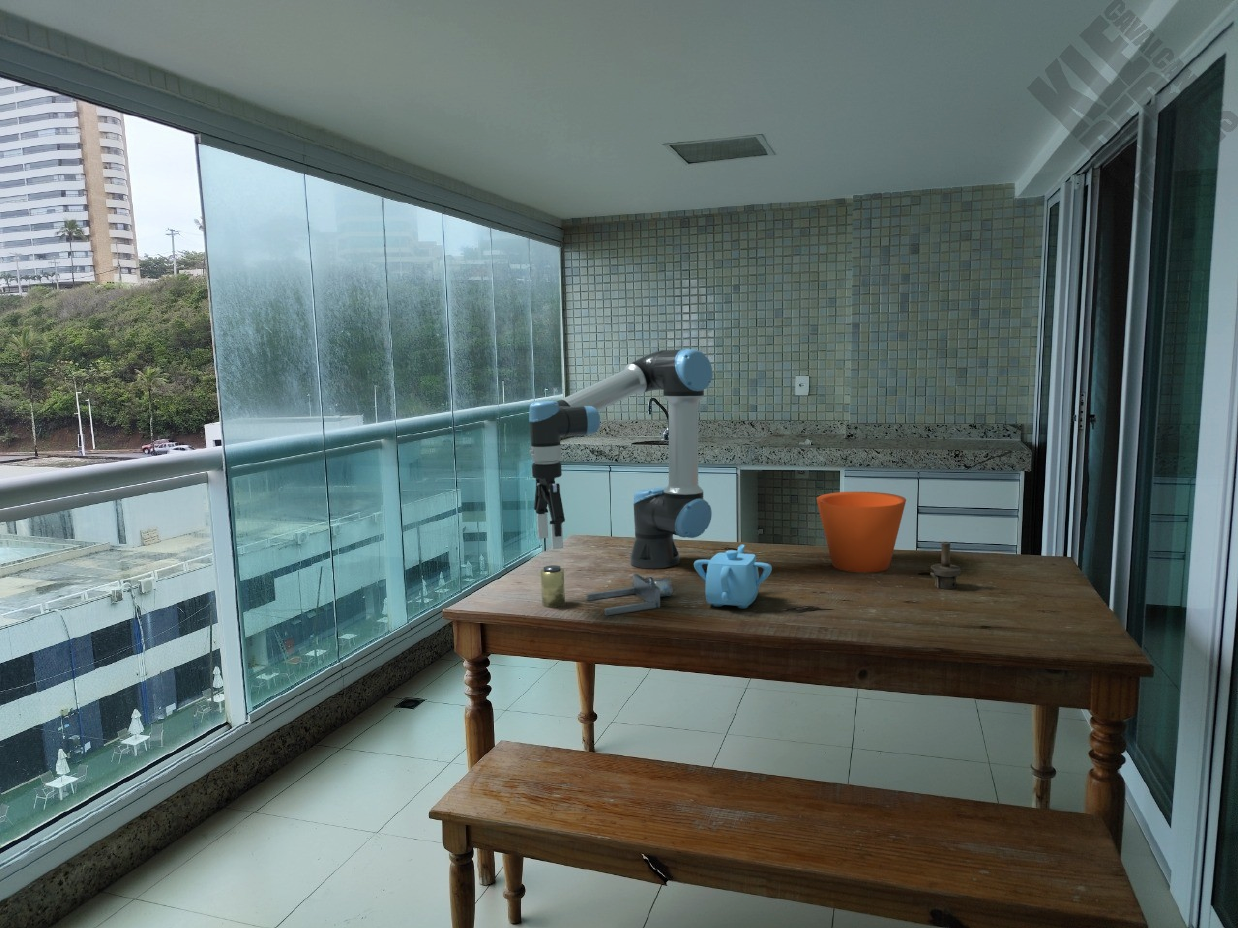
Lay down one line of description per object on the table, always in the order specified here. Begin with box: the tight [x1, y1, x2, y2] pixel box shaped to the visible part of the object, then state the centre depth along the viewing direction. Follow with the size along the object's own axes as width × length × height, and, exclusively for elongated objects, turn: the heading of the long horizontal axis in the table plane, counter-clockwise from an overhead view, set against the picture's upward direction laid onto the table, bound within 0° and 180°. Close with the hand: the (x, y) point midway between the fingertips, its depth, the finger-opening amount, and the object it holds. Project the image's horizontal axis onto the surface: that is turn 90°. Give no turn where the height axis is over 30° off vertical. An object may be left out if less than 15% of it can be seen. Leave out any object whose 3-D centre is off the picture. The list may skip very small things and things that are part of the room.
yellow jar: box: [540, 564, 566, 608], centre depth 215 cm, size 6×6×10 cm
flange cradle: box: [586, 573, 674, 616], centre depth 214 cm, size 21×15×6 cm
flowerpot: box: [816, 491, 907, 574], centre depth 241 cm, size 25×25×20 cm
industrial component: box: [930, 541, 962, 590], centre depth 217 cm, size 9×7×12 cm
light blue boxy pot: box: [693, 544, 773, 609], centre depth 211 cm, size 18×16×14 cm
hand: (550, 543), depth 213 cm, fingers open, 13 cm apart
